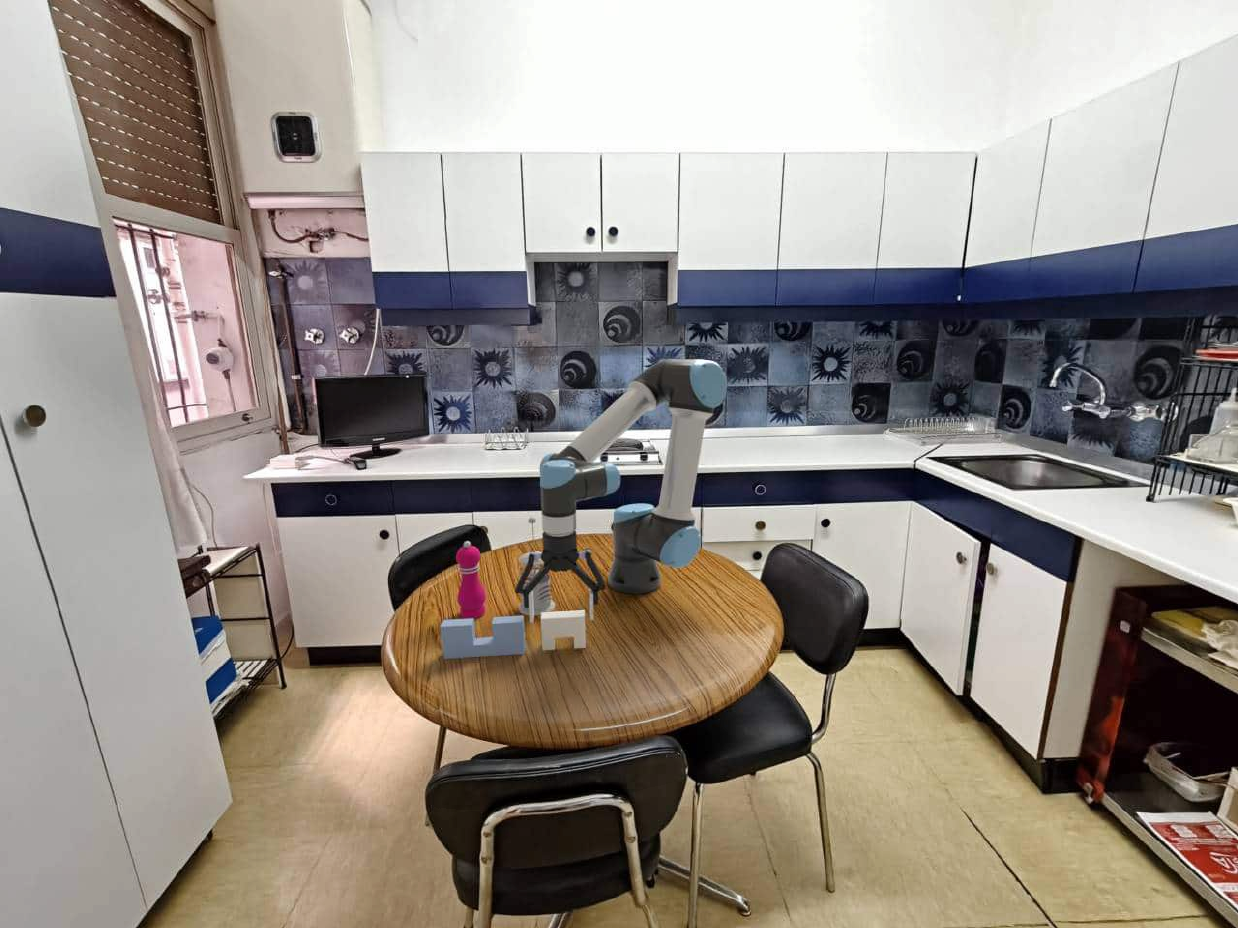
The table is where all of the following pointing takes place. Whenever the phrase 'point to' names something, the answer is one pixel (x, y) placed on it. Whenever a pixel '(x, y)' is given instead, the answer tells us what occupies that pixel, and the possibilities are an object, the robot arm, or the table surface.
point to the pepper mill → (470, 583)
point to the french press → (542, 589)
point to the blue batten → (464, 644)
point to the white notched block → (563, 628)
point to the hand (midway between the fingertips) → (561, 618)
